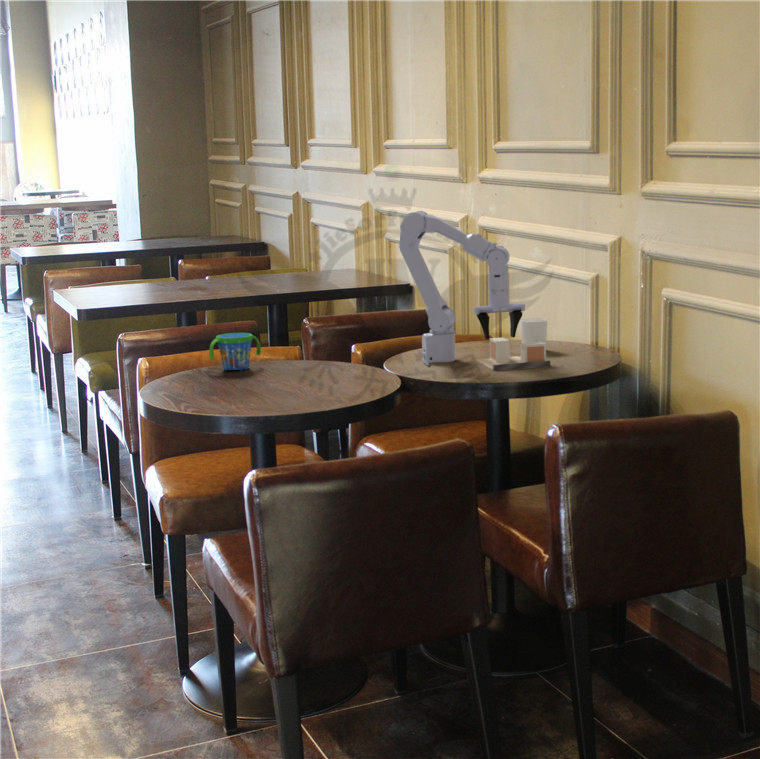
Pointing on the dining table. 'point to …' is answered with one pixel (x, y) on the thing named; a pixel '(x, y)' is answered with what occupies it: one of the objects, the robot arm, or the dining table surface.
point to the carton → (500, 349)
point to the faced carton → (533, 351)
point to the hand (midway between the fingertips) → (499, 337)
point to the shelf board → (513, 364)
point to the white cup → (534, 330)
